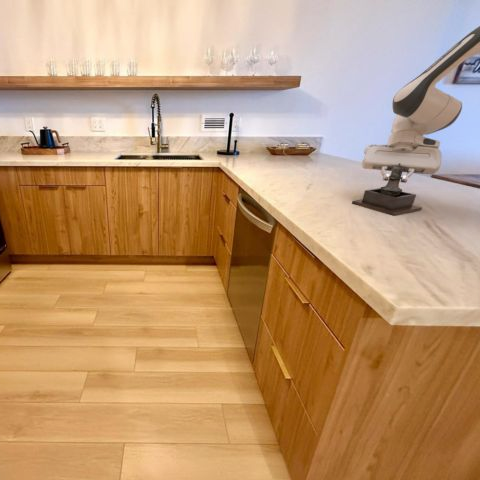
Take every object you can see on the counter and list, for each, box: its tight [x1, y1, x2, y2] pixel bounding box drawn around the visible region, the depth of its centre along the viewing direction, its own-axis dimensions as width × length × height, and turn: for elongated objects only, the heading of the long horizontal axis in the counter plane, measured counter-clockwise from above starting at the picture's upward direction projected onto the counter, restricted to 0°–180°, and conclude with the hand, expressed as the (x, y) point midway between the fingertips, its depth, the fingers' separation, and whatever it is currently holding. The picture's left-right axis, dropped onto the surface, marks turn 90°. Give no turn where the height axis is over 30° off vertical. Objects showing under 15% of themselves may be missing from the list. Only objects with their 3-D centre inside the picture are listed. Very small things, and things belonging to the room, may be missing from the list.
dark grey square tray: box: [351, 187, 423, 217], centre depth 96 cm, size 14×14×5 cm
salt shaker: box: [380, 163, 404, 197], centre depth 94 cm, size 6×6×12 cm
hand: (394, 180), depth 93 cm, fingers closed on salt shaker, 3 cm apart
